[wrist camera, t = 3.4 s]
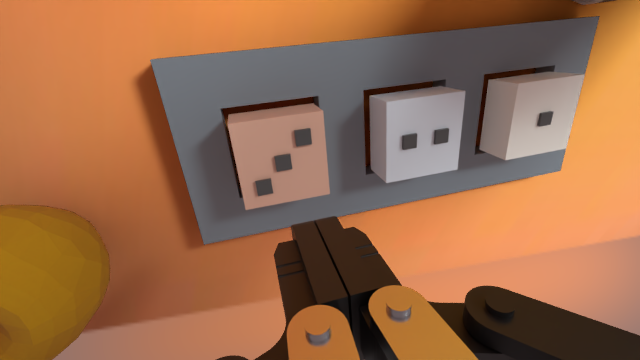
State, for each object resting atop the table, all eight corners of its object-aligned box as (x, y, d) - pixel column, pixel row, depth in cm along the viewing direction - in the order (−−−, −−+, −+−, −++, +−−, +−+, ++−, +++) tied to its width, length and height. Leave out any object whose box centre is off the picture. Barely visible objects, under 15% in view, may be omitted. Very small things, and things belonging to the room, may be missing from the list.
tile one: (549, 71, 23) (587, 74, 20) (535, 139, 25) (568, 149, 23) (488, 79, 22) (521, 83, 19) (479, 149, 24) (507, 161, 22)
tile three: (312, 103, 20) (324, 111, 17) (319, 178, 22) (330, 195, 19) (228, 114, 19) (227, 125, 16) (244, 191, 21) (245, 211, 18)
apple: (-49, 176, 18) (-275, 279, 10) (119, 173, 20) (42, 256, 12) (-1, 293, 21) (-144, 441, 13) (138, 280, 23) (88, 400, 15)
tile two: (440, 86, 21) (467, 91, 19) (435, 157, 23) (459, 170, 21) (369, 95, 20) (388, 102, 18) (370, 168, 22) (387, 184, 20)
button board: (577, 18, 24) (599, 16, 22) (544, 164, 29) (560, 170, 27) (156, 58, 18) (150, 59, 17) (205, 232, 23) (204, 244, 22)
